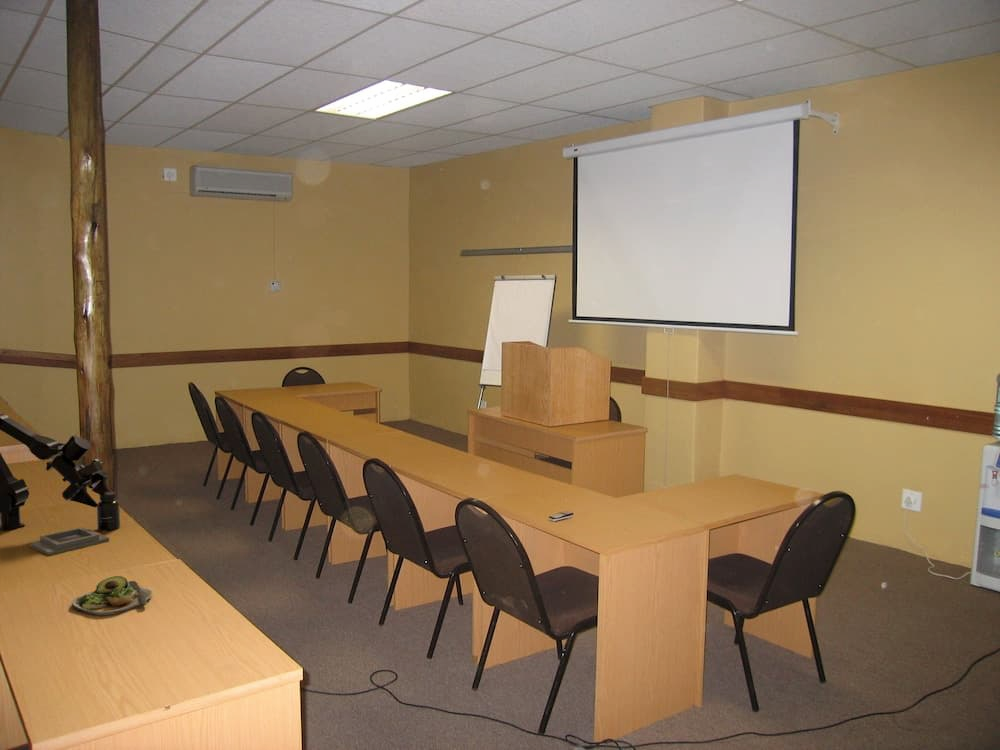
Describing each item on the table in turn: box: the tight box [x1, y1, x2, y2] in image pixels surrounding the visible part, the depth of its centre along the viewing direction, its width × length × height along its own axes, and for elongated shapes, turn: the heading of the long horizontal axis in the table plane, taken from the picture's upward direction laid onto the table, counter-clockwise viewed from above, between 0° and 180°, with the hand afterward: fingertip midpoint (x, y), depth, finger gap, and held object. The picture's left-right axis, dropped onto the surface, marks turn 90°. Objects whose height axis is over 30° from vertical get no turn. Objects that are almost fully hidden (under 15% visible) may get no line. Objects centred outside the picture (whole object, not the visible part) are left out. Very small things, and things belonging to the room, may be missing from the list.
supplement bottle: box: [96, 491, 121, 532], centre depth 259 cm, size 7×7×12 cm
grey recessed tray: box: [29, 526, 110, 556], centre depth 244 cm, size 14×18×2 cm
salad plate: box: [71, 575, 153, 616], centre depth 199 cm, size 19×18×5 cm
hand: (104, 502), depth 259 cm, fingers open, 9 cm apart
